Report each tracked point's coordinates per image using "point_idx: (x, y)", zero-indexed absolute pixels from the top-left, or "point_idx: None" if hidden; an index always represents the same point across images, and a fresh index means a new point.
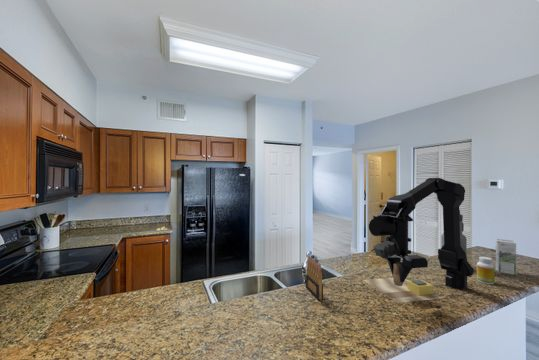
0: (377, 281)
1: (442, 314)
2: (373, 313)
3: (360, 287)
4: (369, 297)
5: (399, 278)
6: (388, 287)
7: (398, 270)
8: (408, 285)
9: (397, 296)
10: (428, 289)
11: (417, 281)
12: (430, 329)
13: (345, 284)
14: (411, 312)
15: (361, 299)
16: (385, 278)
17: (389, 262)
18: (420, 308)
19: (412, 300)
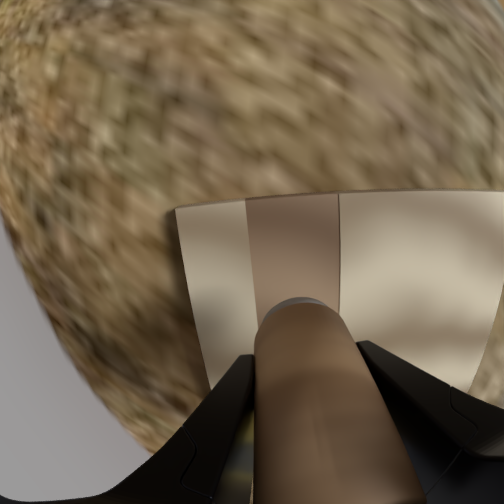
0: (484, 272)
1: (110, 371)
2: (121, 22)
3: (460, 124)
4: (323, 81)
5: (256, 369)
6: (409, 294)
7: (268, 447)
8: None
9: (276, 273)
10: None
11: None
12: (5, 230)
13: (487, 69)
14: (109, 243)
15: (296, 18)
16: (486, 338)
17: (496, 440)
18: (154, 324)
19: (206, 331)
